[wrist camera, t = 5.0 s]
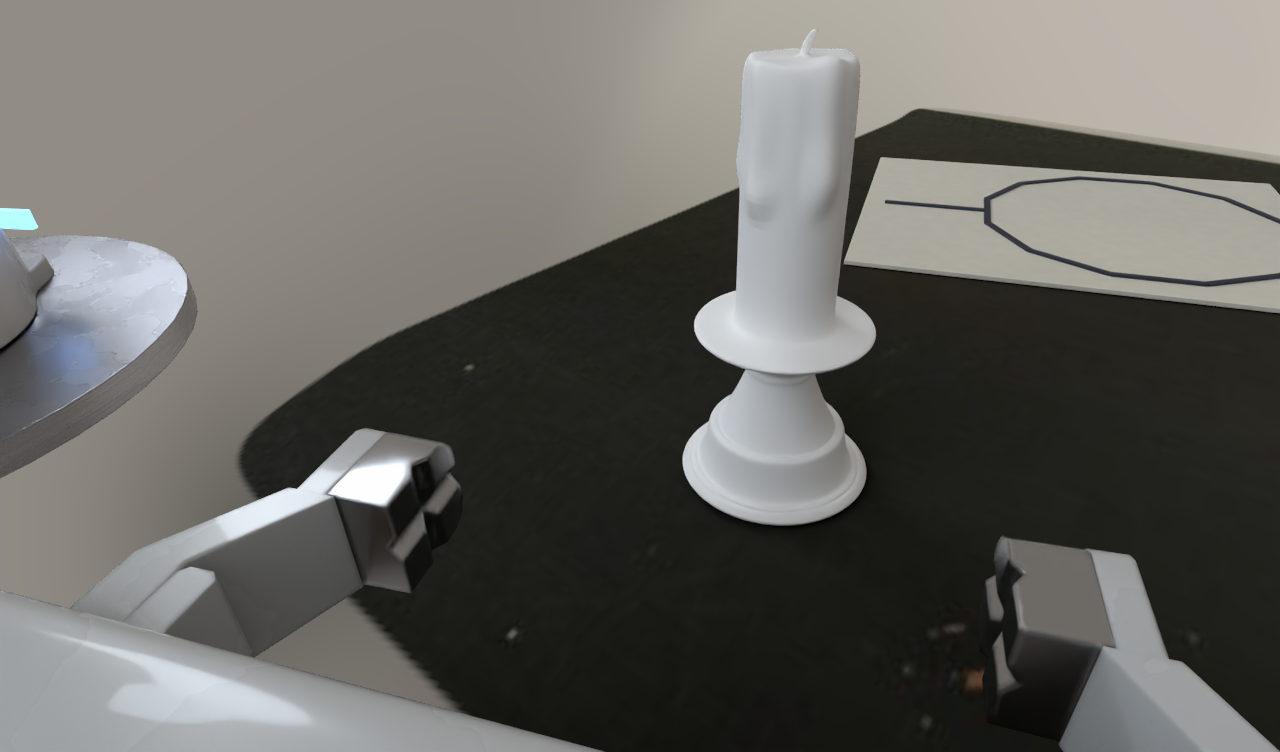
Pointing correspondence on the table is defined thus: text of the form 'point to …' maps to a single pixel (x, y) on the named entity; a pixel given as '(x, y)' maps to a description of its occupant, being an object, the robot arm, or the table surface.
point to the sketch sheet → (1075, 231)
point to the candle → (786, 299)
